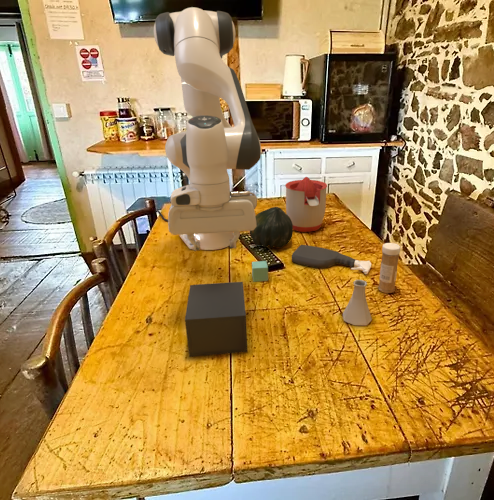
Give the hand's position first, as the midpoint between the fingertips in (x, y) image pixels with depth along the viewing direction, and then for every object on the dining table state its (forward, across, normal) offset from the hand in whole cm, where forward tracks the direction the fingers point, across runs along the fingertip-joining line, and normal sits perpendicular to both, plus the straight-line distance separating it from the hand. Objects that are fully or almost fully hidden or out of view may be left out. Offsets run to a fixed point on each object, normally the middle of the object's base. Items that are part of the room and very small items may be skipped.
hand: (215, 248), depth 95 cm
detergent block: (+17, -12, -16) cm, 26 cm away
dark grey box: (+18, 0, +10) cm, 20 cm away
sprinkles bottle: (+18, -46, -4) cm, 49 cm away
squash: (+18, -18, -40) cm, 47 cm away
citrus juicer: (+17, -33, -54) cm, 66 cm away
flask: (+18, -34, +8) cm, 39 cm away
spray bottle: (+18, -35, -22) cm, 45 cm away
